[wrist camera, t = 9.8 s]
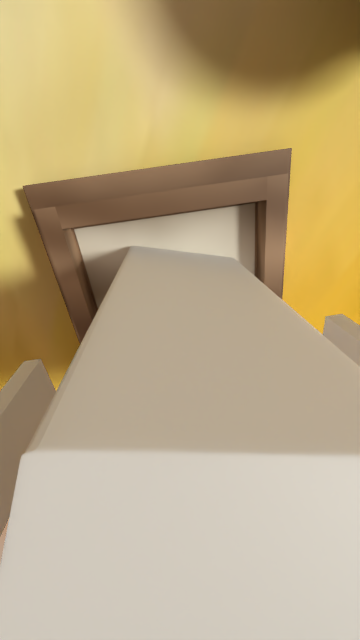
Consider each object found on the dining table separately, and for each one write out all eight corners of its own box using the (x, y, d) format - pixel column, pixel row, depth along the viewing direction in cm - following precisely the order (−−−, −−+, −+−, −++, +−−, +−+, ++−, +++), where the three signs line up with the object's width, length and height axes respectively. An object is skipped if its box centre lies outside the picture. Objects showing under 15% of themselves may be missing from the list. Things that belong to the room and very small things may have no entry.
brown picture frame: (30, 186, 16) (9, 185, 14) (284, 150, 16) (304, 143, 14) (102, 392, 24) (96, 413, 21) (272, 366, 24) (284, 384, 21)
